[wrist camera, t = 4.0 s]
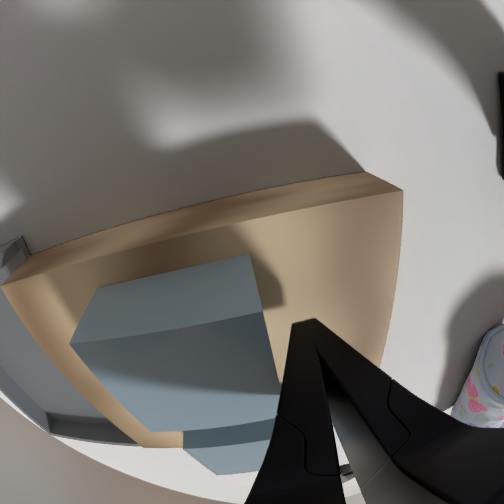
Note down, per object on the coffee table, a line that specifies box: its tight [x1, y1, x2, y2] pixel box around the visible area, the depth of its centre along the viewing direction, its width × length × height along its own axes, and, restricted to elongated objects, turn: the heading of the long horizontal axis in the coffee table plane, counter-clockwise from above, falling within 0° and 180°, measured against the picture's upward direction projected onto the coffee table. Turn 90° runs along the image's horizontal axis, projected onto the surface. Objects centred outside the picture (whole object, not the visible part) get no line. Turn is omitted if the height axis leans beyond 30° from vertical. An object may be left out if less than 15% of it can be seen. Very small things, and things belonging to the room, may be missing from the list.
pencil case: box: [450, 324, 504, 428], centre depth 18 cm, size 21×9×10 cm, turn 27°
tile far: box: [183, 418, 275, 475], centre depth 11 cm, size 5×5×2 cm
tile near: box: [69, 254, 281, 432], centre depth 8 cm, size 5×5×2 cm
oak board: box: [0, 172, 403, 448], centre depth 12 cm, size 15×14×2 cm
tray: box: [0, 236, 141, 446], centre depth 12 cm, size 11×16×2 cm
